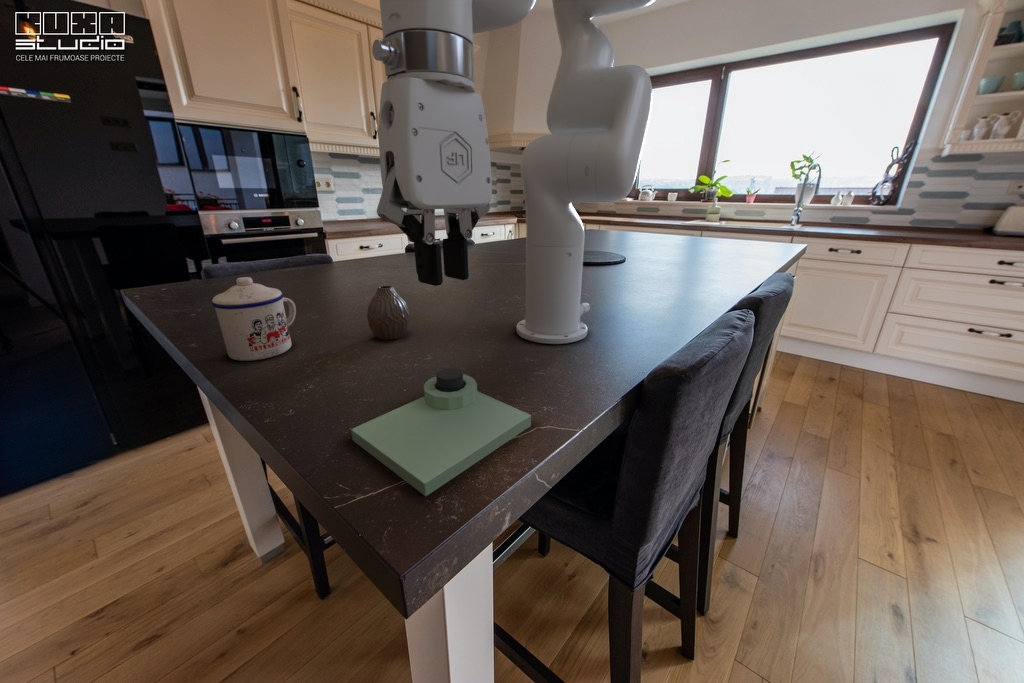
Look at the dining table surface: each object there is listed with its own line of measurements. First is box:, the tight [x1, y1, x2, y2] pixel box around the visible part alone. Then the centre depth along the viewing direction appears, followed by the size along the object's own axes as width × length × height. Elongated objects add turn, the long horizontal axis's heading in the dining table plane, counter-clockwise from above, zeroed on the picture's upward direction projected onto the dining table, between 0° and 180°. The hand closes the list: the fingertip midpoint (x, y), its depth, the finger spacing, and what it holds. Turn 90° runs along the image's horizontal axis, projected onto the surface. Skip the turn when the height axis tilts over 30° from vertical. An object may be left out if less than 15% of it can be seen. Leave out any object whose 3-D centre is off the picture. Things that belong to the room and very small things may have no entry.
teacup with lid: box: [211, 276, 297, 362], centre depth 62 cm, size 12×9×12 cm
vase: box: [366, 284, 411, 341], centre depth 67 cm, size 7×7×9 cm
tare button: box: [435, 367, 464, 392], centre depth 45 cm, size 3×3×2 cm
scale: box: [350, 373, 532, 497], centre depth 41 cm, size 14×12×3 cm
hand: (443, 279), depth 41 cm, fingers closed
